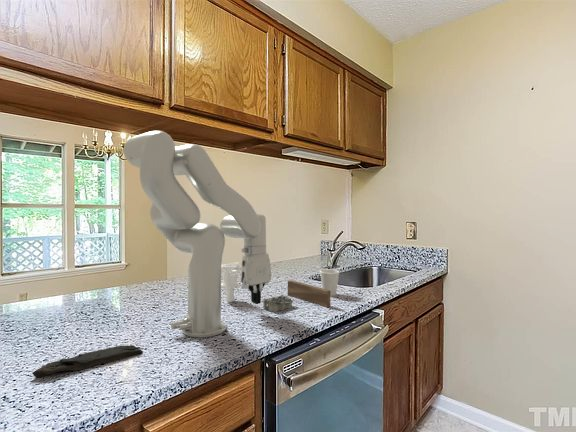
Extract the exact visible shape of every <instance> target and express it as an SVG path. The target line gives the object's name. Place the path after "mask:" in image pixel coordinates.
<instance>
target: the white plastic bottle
mask: <svg viewBox="0 0 576 432" xmlns="http://www.w3.org/2000/svg"><path fill="white" fill-rule="evenodd" d="M221 270H223V271H222V282H221V289H225V291H226V292H225V295H226V296H225V301H226V302H228V303H232V302H234V301H235V289H239V287H240V283H239V282H238V273H240V262H231V263H226V264H221Z"/></svg>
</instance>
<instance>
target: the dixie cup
mask: <svg viewBox="0 0 576 432" xmlns="http://www.w3.org/2000/svg"><path fill="white" fill-rule="evenodd" d="M319 272H320V281H321V288H323V289H327V290H330V291H331V297H335V296H337V291H338V283H339V275H340V270H338V269H331V268H329V269H327V268H326V269H325V268H324V269H321V270H319Z"/></svg>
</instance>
